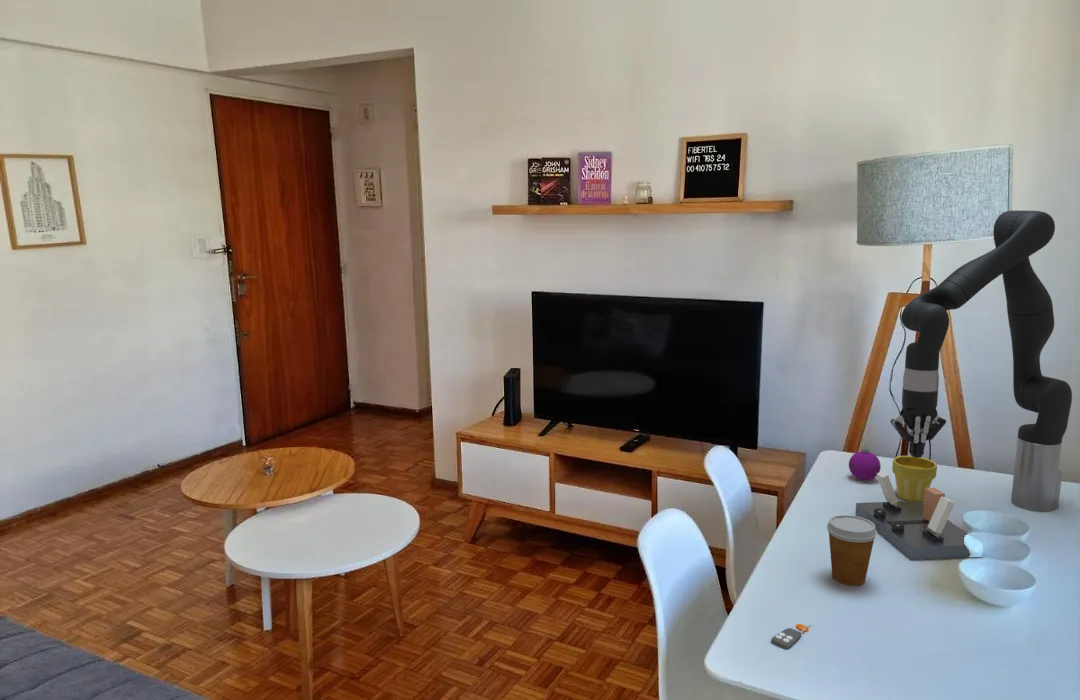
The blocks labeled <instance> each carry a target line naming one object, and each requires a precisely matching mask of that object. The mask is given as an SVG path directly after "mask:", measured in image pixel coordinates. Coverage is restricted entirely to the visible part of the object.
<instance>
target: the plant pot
mask: <svg viewBox="0 0 1080 700" xmlns="http://www.w3.org/2000/svg"><path fill="white" fill-rule="evenodd" d="M891 470H892V473H893V474H894V476H895V477H894V478H895V484H896V485H895V486H896V492H897V496H898V497H899V498H900V499H902V500H903V501H920V502H921V503H922V502H924V492H925V488H931V485H932V482H933V480H934V479H935V478H936V477H937V470H938V465H937V463H936V462H935V461H933V460H931V459H929V458H926V457H921V458H914V457H912V456H911V455H898V456H895V457H894V458H893V459H892V469H891Z"/></svg>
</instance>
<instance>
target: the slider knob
mask: <svg viewBox="0 0 1080 700" xmlns="http://www.w3.org/2000/svg"><path fill="white" fill-rule="evenodd" d="M941 496H942V497H945V498H946V493H945V492H943V491H941V490H939V489H938V488H936V487H930V488H925V492H924V501H923V516H922V517H924V518H925V519H927V520H928V521H929V522H930V520H931V518H932V516H933V513H934V511H935V509H936V507H937V505H938V502H939V500H940V498H941Z"/></svg>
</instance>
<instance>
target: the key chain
mask: <svg viewBox="0 0 1080 700" xmlns="http://www.w3.org/2000/svg"><path fill="white" fill-rule="evenodd" d="M795 628H796V629H795ZM795 628H792V627H789V628H785V629H783V630H782V631H780V632H779V633H777V634H775V635H774V636H772V638H771V639H770V643H772V644H773V645H775V646H777V647H778V648H779V647H780V648H781V649H784V650H789V649H791V648H793V646H794V645H795V644H797V643H798V641H799V640H800V639H801V637H802V633H803V632H809V631H810V629H809V628H813V625H812V624H809V625H804V624H801V623H797V624H795ZM797 629H798V630H797Z"/></svg>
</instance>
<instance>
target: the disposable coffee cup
mask: <svg viewBox="0 0 1080 700" xmlns="http://www.w3.org/2000/svg"><path fill="white" fill-rule="evenodd" d="M826 529H827V532H828V538H829V539H828V542H829V551H830V552H829V553H830V562H831V563H830V567H831V576H832V579H834V581H836V582H838V583H840V584H843V585H847V586H861V585H863V584H865V582H866V579H867V575H868V568H869V565H870V559H871V555H872V551H873V546H874V541H875V539H876V537H877V535H878V533H877V531H876V529H875V525H874V523H872V522H871V521H869V520H867V519H865V518H862V517H858V516H857V515H851V514H838V515H833V516H832V517H830V518H829V520H828V522H827V523H826Z"/></svg>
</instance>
